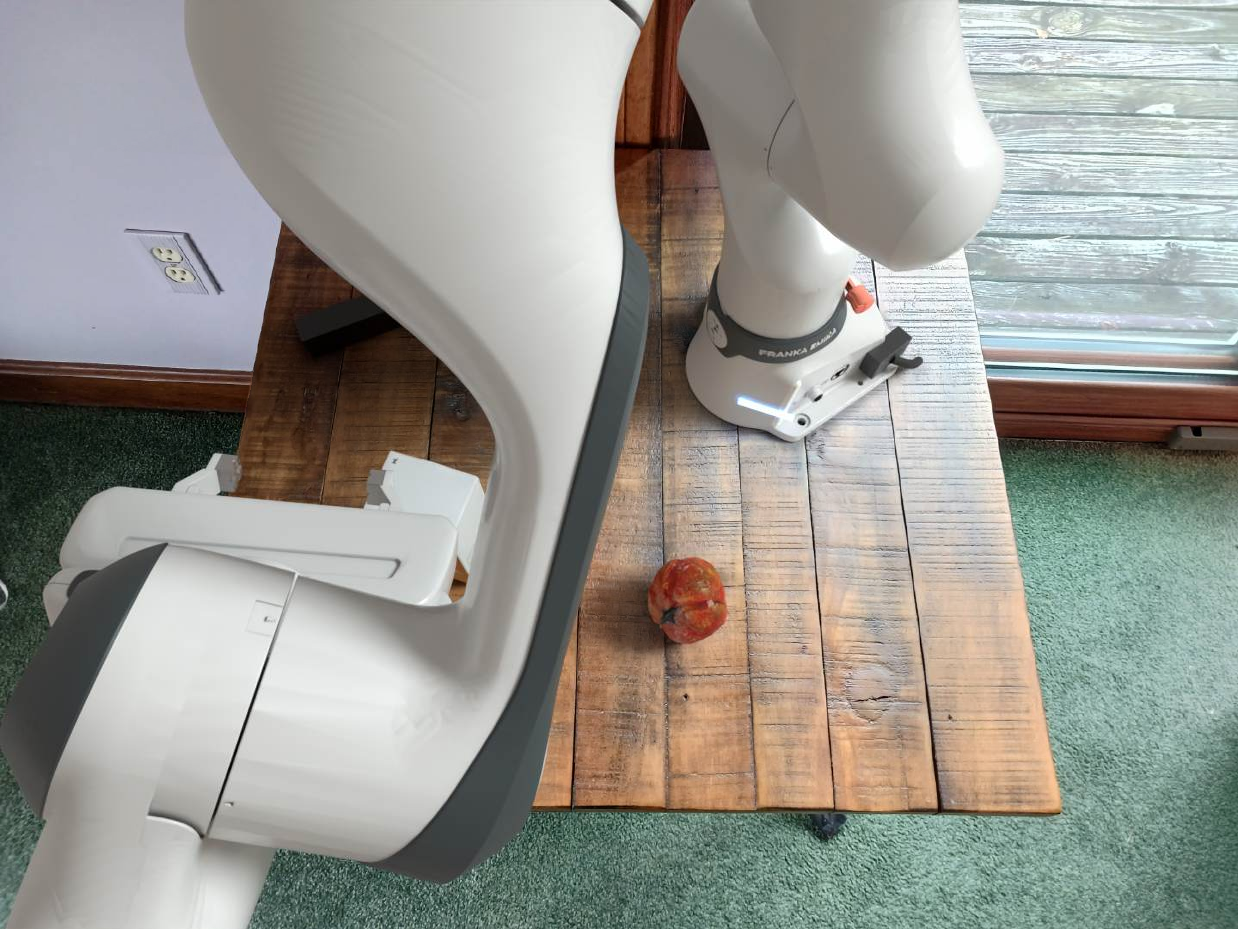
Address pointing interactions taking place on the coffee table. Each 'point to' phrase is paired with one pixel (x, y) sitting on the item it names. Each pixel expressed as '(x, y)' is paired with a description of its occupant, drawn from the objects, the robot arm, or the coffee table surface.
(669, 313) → the coffee table surface
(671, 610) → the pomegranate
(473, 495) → the small box
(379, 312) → the bar
